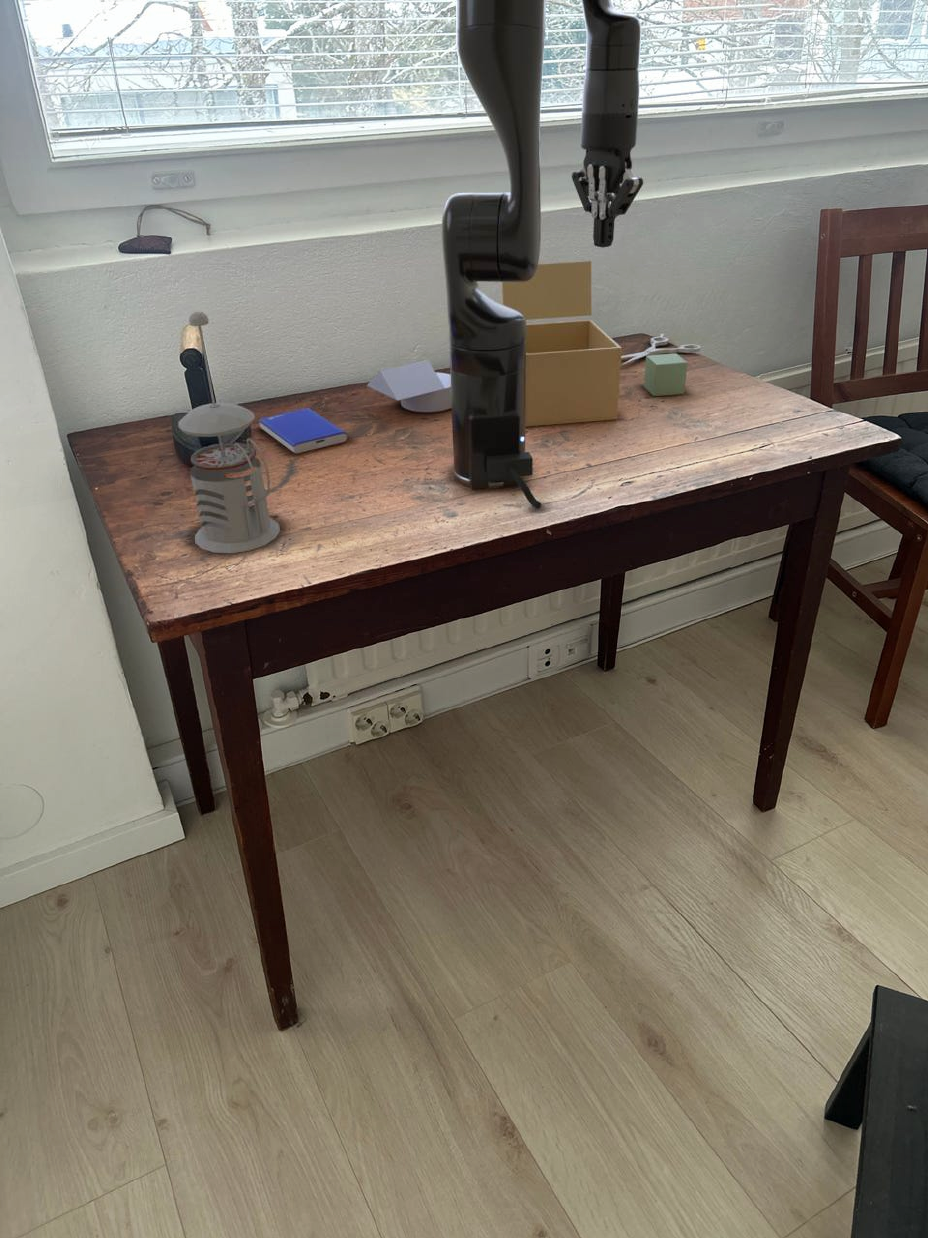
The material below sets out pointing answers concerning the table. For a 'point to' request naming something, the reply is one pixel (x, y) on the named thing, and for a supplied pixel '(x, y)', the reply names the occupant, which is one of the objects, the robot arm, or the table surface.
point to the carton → (571, 373)
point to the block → (665, 374)
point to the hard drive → (302, 430)
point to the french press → (222, 497)
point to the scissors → (663, 341)
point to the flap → (552, 291)
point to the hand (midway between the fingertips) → (602, 245)
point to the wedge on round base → (415, 386)
